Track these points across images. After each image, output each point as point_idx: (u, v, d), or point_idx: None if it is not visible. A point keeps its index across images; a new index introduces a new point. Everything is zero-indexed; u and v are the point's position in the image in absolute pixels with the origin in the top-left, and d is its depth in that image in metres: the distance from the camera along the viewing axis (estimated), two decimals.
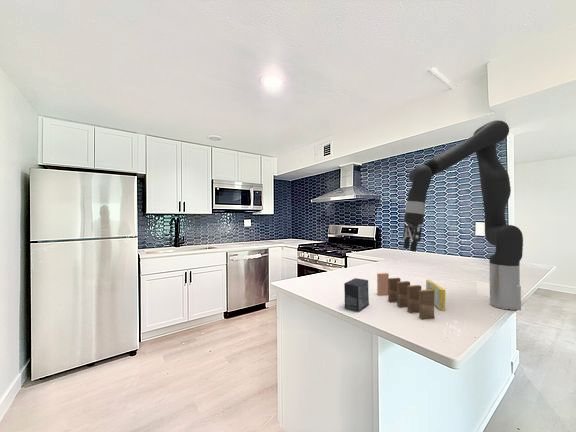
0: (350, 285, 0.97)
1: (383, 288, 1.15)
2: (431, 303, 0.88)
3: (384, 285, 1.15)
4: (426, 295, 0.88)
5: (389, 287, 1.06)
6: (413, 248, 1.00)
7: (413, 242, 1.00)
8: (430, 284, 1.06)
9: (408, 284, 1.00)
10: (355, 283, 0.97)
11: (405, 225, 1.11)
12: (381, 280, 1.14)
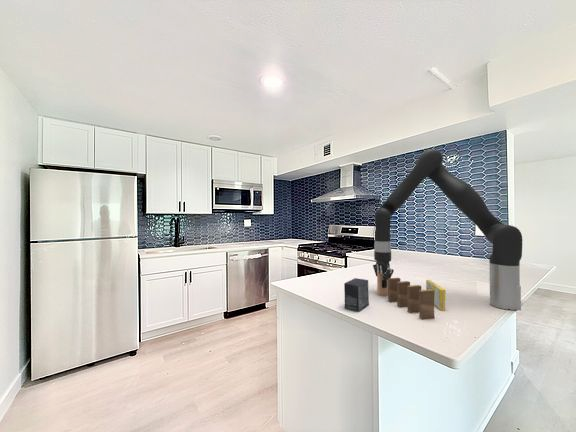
0: (350, 285, 0.97)
1: (383, 288, 1.14)
2: (431, 303, 0.88)
3: None
4: (426, 295, 0.88)
5: (389, 287, 1.06)
6: (384, 285, 1.13)
7: (384, 280, 1.13)
8: (430, 284, 1.06)
9: (408, 284, 1.00)
10: (355, 283, 0.97)
11: None
12: (381, 280, 1.14)
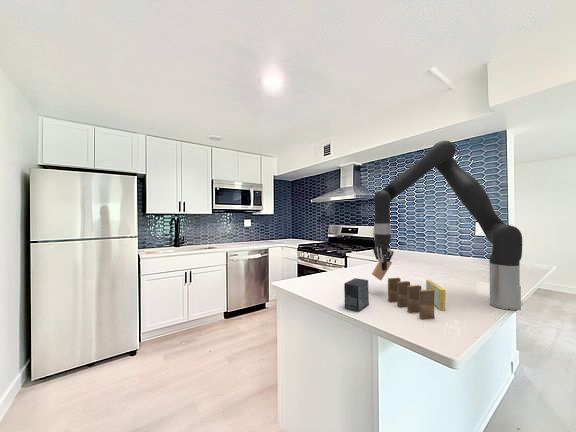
0: (350, 285, 0.97)
1: (380, 270, 1.14)
2: (431, 303, 0.88)
3: None
4: (426, 295, 0.88)
5: (389, 287, 1.06)
6: (384, 268, 1.14)
7: (384, 262, 1.13)
8: (430, 284, 1.06)
9: (408, 284, 1.00)
10: (355, 283, 0.97)
11: (373, 248, 1.21)
12: None
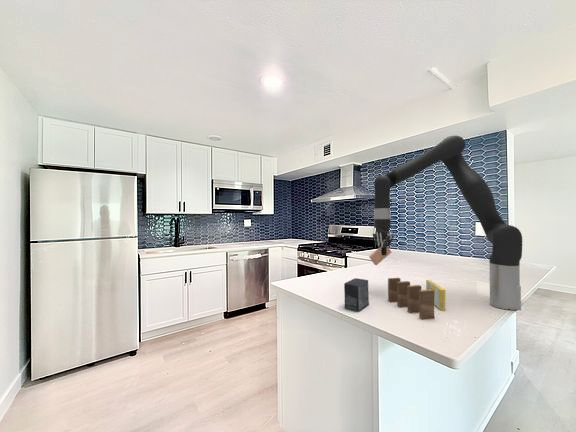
0: (350, 285, 0.97)
1: (378, 255, 1.14)
2: (431, 303, 0.88)
3: (381, 255, 1.14)
4: (426, 295, 0.88)
5: (389, 287, 1.06)
6: (384, 252, 1.14)
7: (384, 247, 1.13)
8: (430, 284, 1.06)
9: (408, 284, 1.00)
10: (355, 283, 0.97)
11: None
12: None
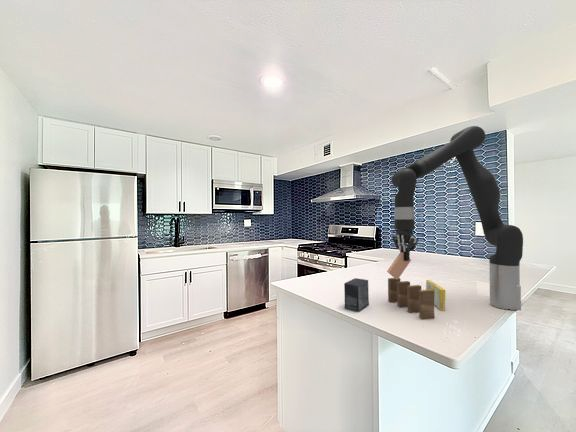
0: (350, 285, 0.97)
1: (397, 268, 0.99)
2: (431, 303, 0.88)
3: (400, 267, 0.99)
4: (426, 295, 0.88)
5: (389, 287, 1.06)
6: (407, 258, 0.99)
7: (406, 252, 0.98)
8: (430, 284, 1.06)
9: (408, 284, 1.00)
10: (355, 283, 0.97)
11: (393, 236, 1.06)
12: (400, 260, 0.99)
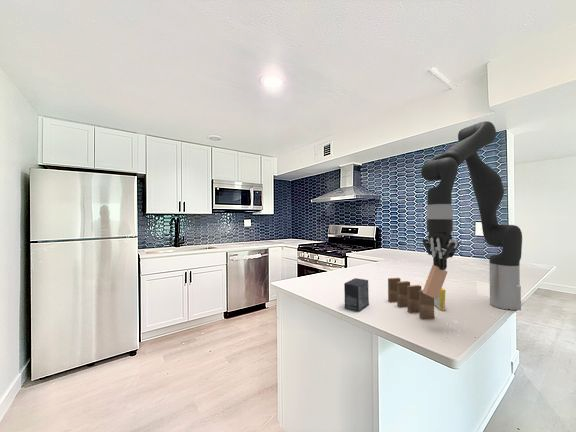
0: (350, 285, 0.97)
1: (434, 286, 0.81)
2: (431, 303, 0.88)
3: (437, 283, 0.82)
4: (426, 295, 0.88)
5: (389, 287, 1.06)
6: (444, 266, 0.81)
7: (443, 259, 0.81)
8: None
9: (408, 284, 1.00)
10: (355, 283, 0.97)
11: (423, 239, 0.88)
12: (436, 276, 0.82)
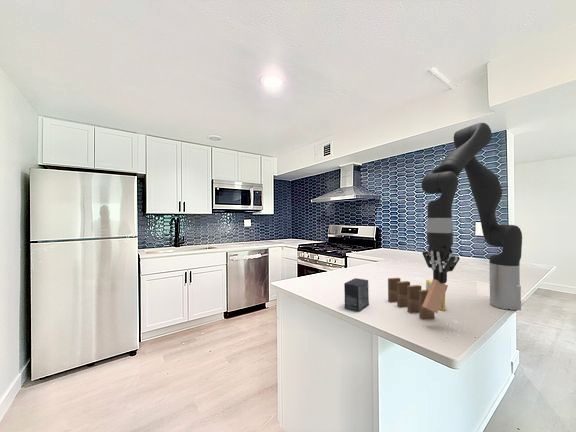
0: (350, 285, 0.97)
1: (434, 300, 0.81)
2: None
3: (437, 297, 0.82)
4: (426, 295, 0.88)
5: (389, 287, 1.06)
6: (444, 280, 0.81)
7: (443, 273, 0.81)
8: (430, 284, 1.06)
9: (408, 284, 1.00)
10: (355, 283, 0.97)
11: None
12: (436, 290, 0.82)
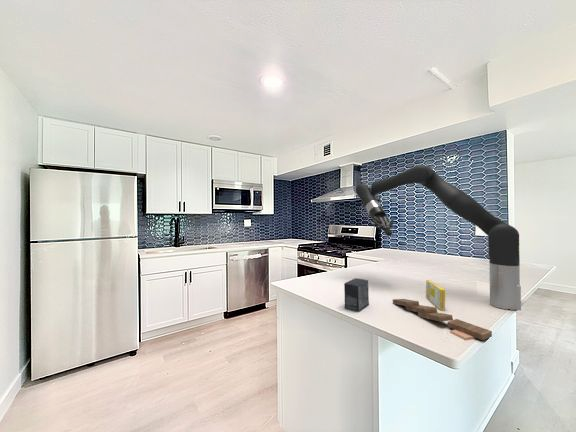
0: (350, 285, 0.97)
1: None
2: None
3: None
4: None
5: (401, 303, 0.98)
6: (386, 233, 1.21)
7: (383, 230, 1.22)
8: (430, 284, 1.06)
9: None
10: (355, 283, 0.97)
11: None
12: None
